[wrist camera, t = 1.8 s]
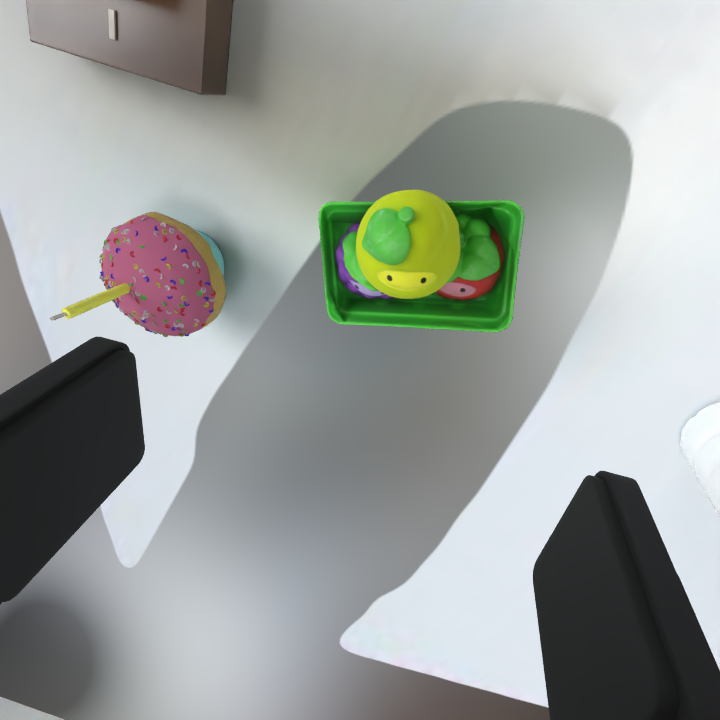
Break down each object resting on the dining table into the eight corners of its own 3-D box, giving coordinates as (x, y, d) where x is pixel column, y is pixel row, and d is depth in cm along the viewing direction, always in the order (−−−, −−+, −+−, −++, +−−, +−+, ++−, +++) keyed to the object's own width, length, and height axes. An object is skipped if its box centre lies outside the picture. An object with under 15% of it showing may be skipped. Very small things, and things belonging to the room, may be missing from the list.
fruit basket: (346, 296, 34) (295, 373, 24) (337, 168, 30) (271, 200, 20) (506, 301, 32) (519, 389, 22) (521, 162, 27) (545, 196, 18)
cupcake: (158, 304, 38) (43, 379, 28) (134, 198, 34) (-13, 241, 24) (255, 314, 37) (169, 396, 26) (241, 203, 32) (133, 251, 22)
